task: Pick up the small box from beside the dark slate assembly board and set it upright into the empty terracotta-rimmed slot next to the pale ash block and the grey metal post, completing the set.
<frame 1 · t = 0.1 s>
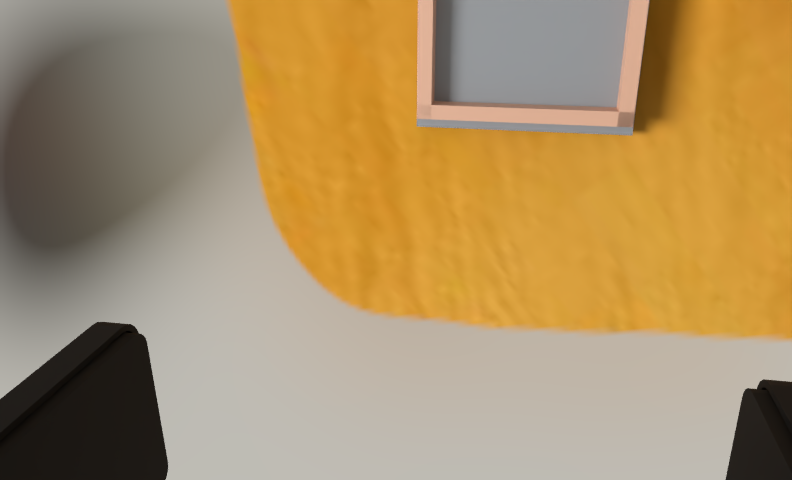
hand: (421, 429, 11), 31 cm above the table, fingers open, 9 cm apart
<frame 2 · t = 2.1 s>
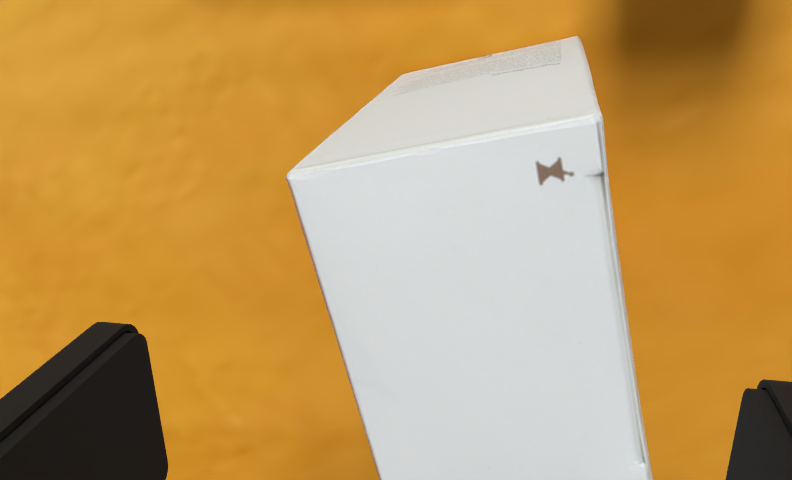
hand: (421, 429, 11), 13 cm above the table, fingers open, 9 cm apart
small box: (512, 175, 22), on the table
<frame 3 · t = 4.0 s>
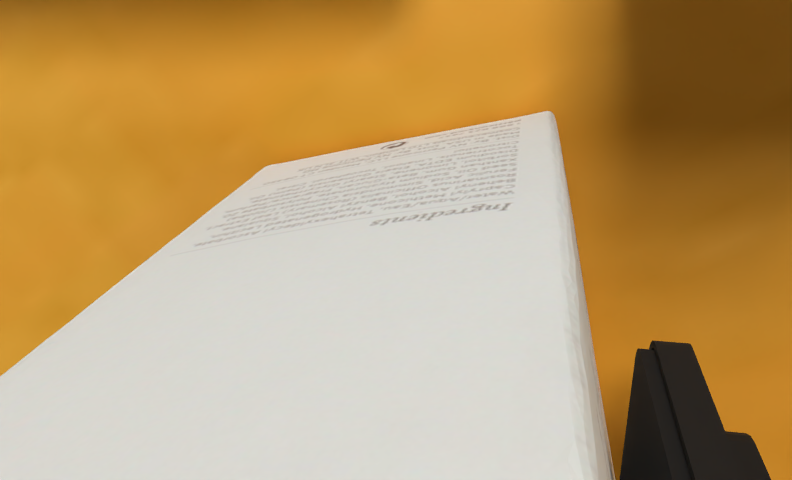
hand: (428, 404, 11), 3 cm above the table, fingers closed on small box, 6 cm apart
small box: (450, 320, 14), on the table, touching gripper
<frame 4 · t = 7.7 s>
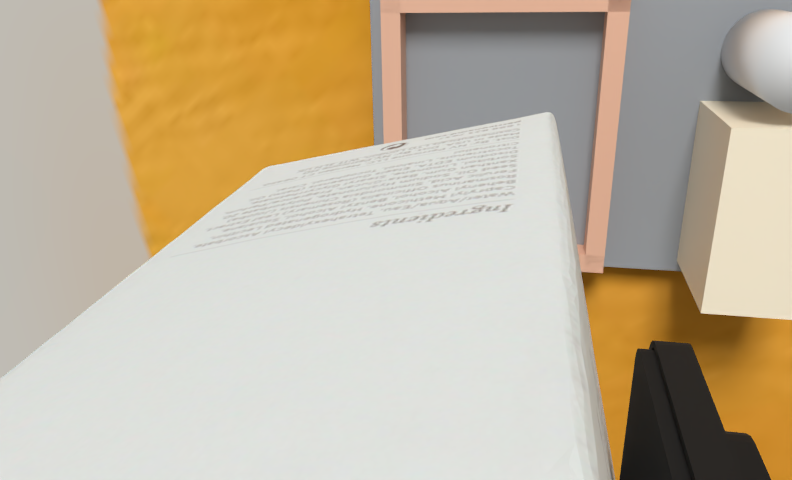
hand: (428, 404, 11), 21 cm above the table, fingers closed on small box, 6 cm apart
assembly board: (580, 129, 30), on the table
small box: (450, 321, 14), point 18 cm above the table, touching gripper
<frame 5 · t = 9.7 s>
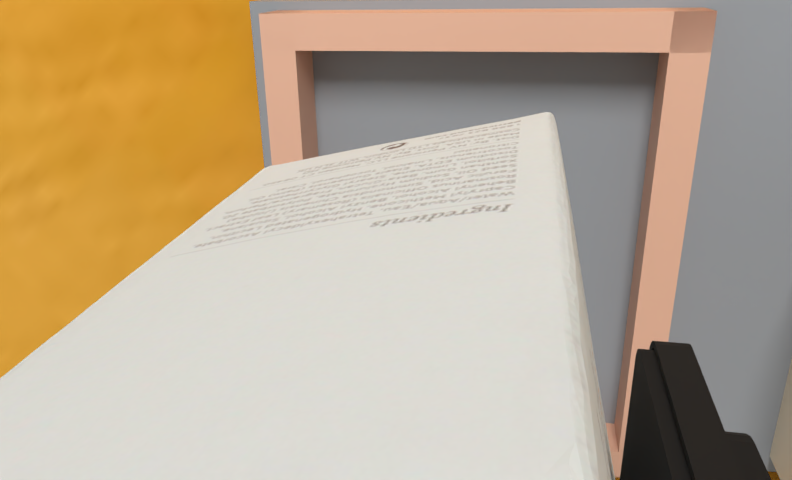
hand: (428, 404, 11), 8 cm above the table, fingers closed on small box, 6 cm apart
assembly board: (610, 239, 18), on the table
small box: (450, 321, 14), point 5 cm above the table, touching gripper
when the fingers open (5 cm above the table, at t = 11.3 s): small box drops 1 cm, resting on assembly board.
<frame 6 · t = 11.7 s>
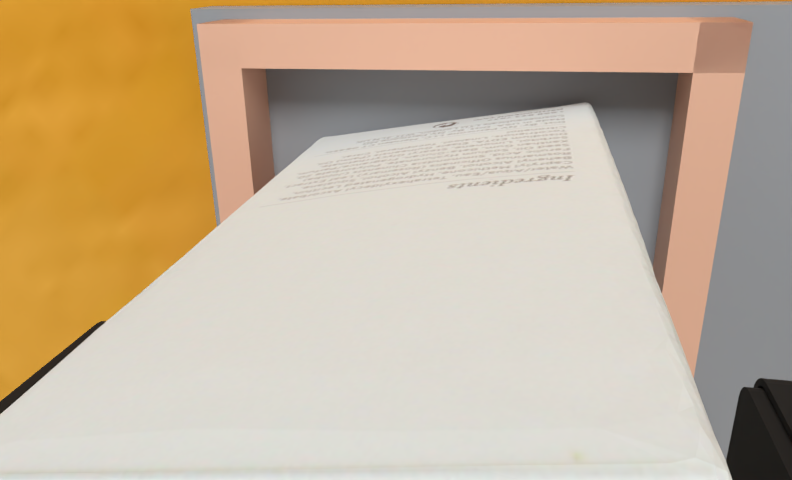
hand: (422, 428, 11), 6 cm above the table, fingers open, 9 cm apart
assembly board: (617, 285, 15), on the table
small box: (477, 291, 15), point 1 cm above the table, touching assembly board
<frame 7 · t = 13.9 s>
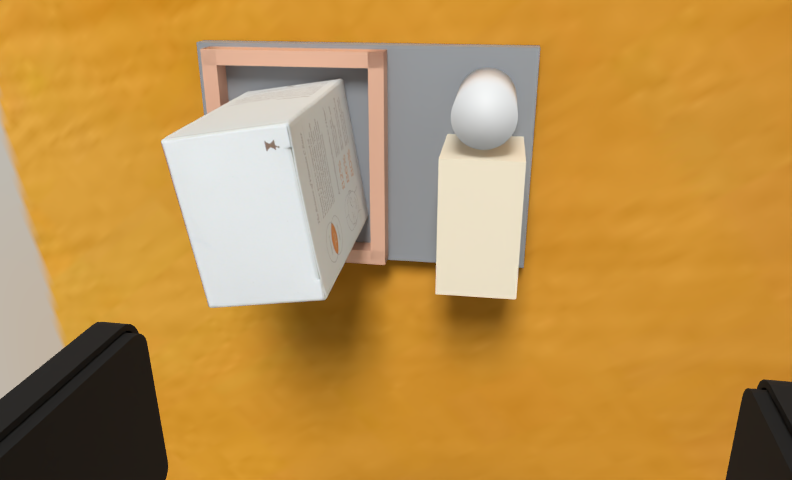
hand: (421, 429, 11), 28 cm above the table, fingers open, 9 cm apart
assembly board: (367, 153, 38), on the table
small box: (311, 154, 38), point 1 cm above the table, touching assembly board
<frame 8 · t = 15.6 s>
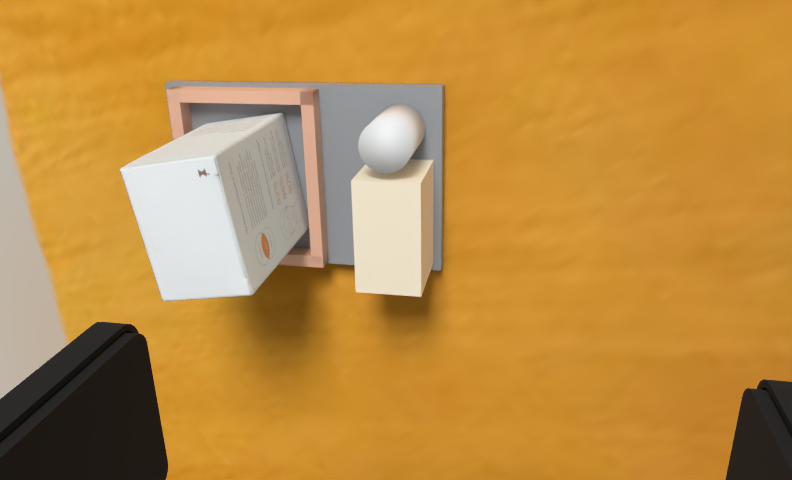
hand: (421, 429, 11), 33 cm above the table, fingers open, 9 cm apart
assembly board: (309, 173, 46), on the table
small box: (261, 175, 46), point 1 cm above the table, touching assembly board
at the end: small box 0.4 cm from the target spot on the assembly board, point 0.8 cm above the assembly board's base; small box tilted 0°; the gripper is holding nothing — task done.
